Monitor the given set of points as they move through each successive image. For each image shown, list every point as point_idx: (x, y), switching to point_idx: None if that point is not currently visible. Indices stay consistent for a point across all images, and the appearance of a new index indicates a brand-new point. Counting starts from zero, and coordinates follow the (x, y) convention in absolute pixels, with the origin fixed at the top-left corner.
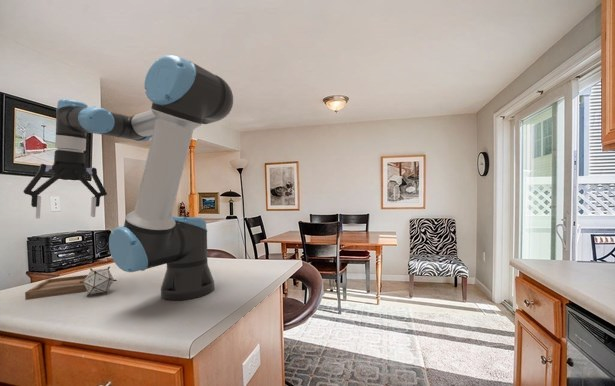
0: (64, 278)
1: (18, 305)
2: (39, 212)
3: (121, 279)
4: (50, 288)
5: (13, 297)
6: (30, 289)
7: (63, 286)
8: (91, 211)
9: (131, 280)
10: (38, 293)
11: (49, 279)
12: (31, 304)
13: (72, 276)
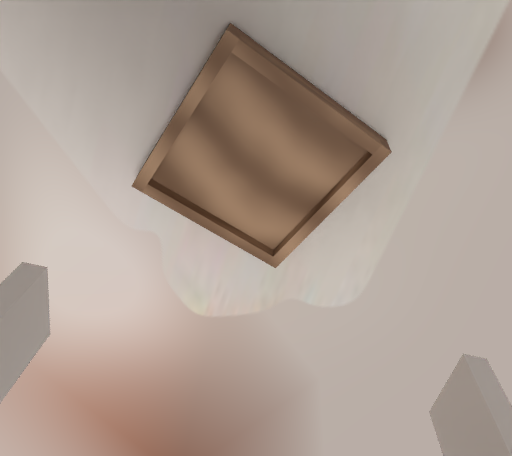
0: (236, 233)
1: (432, 81)
2: (490, 404)
3: (73, 80)
4: (327, 117)
5: (385, 207)
6: (364, 176)
7: (270, 147)
8: (22, 348)
9: (41, 9)
10: (359, 125)
11: (271, 259)
12: (410, 45)
13: (211, 230)
